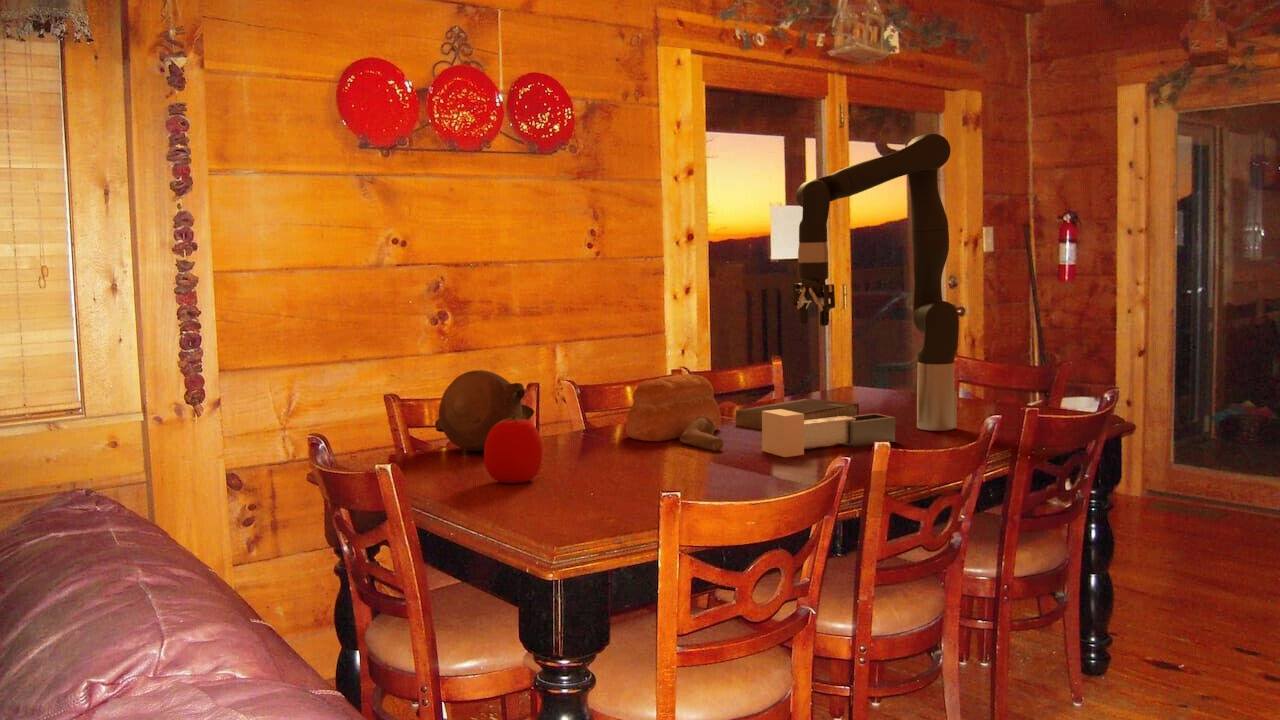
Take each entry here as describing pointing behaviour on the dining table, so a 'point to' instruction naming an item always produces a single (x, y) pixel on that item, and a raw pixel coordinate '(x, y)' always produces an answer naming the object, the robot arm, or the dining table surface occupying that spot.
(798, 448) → the tan block
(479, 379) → the jug
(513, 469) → the tomato
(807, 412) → the grey shallow rectangular piece
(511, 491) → the dining table surface
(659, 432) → the bread
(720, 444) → the pipe
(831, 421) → the beige rectangular block
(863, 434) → the sleeve
